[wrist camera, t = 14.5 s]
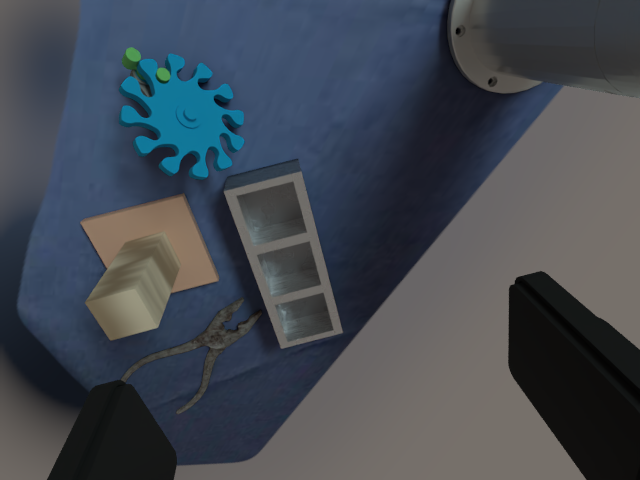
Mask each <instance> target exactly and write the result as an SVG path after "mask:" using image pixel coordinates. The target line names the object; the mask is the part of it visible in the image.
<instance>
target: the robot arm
mask: <svg viewBox="0 0 640 480" xmlns="http://www.w3.org/2000/svg"><path fill="white" fill-rule="evenodd" d="M457 28H458V30H459V31H458V33H457V34H456V33H455V32H456V29H457ZM447 38H448V43H449V48H450V52H451V55H452V57H453V60H454V62H455V64H456V66H457V67H458V69H459V70H460V72H461V73H462V75H463V76H464V77H465V78H466V79H468V80H469V81H470V82H471V83H472V84H474V85H476V86H478V87H479V88H481V89H484V90H488V91H491V92H497V93H502V94H503V93H516V92H520V91H524V90H528V89H530V88H532V87H534V86H536V85H539V84H540V83H542V82H547V83H553V84H559V85H565V86H570V87H577V88H582V89H588V90H593V91H599V92H605V93H611V94H616V95H623V96H629V97H636V98H640V0H451V2H450V5H449V12H448V19H447ZM489 79H490V82H489V83H488V80H489ZM508 354H509V356H508V358H509V360H508V363H509V369H510V372H511V374H512V376H513V378H514V379H515V381H516V382H517V384H518V385H519V386H520V388H521V389H522V390H523V392H524V393H525V395H526V396H527V397H528V399H529V400H530V402H531V403H532V404H533V406H534V407H535V409H536V410H537V411H538V413H539V414H540V416H541V417H542V418H543V420H544V421H545V422H546V424H547V425H548V427H549V428H550V429H551V431H552V432H553V433H554V435H555V436H556V438H557V439H558V441H559V442H560V443H561V445H562V446H563V448H564V449H565V450H566V452H567V453H568V455H569V456H570V457H571V459H572V460H573V461H574V463H575V464H576V466H577V467H578V468H579V470H580V471H581V473H582V474H583V475H584V477H585V478H586V480H640V350H639V349H638V348H637V347H636V346H635V345H633V344H632V343H631V342H630V341H628V340H627V339H626V338H625V337H624V336H623V335H622V334H620V333H619V332H618V331H617V330H615V328H613V327H612V326H611V325H610V324H609V323H607V322H606V321H604V320H603V319H601V318H598V317H597V316H595V315H594V314H593V313H592V312H591V311H590V310H588V309H587V308H586V307H585V306H584V305H583V304H581V303H580V302H579V301H578V300H577V299H576V298H574V297H573V296H572V295H571V294H570V293H568V292H567V291H566V290H565V289H564V288H563V287H562V286H560V285H559V284H558V283H557V282H556V281H554V280H553V279H552V278H551V277H550V276H549V275H548V274H546V273H545V272H542V271H540V272H536V273H532V274H528V275H524V276H520V277H517V278H516V280H515V284H514V285H511V286H510V288H509V353H508ZM176 465H177V457H176V452H175V450H174V448H173V447H172V445H171V444H170V442H169V440H168V439H167V437H166V436H165V434H164V433H163V431H162V430H161V428H160V427H159V425H158V424H157V422H156V421H155V419H154V418H153V416H152V414H151V413H150V411H149V410H148V408H147V407H146V405H145V404H144V402H143V401H142V399H141V398H140V396H139V395H138V393H137V392H136V390H135V388H134V387H133V386H132V385H131V384H126V383H125V382H124V381H122V380H117V381H113V382H109V383H105V384H101V385H97V386H95V387H94V388H92V390H91V391H90V393H89V395H88V397H87V399H86V402H85V403H84V406H83V408H82V410H81V412H80V414H79V416H78V418H77V420H76V422H75V424H74V426H73V428H72V430H71V432H70V434H69V436H68V438H67V440H66V442H65V444H64V447H63V448H62V450H61V453H60V454H59V456H58V458H57V460H56V462H55V465H54V467H53V469H52V471H51V473H50V475H49V477H48V479H47V480H174V475H175V470H176Z"/></svg>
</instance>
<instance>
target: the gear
mask: <svg viewBox="0 0 640 480" xmlns="http://www.w3.org/2000/svg"><path fill="white" fill-rule="evenodd" d="M140 59H141V55H140V53H139V51H138V50H136V49H134V48H128V49H127V50H126V52H125V54H124V56H123V58H122V64H123V65H124V67H125V68H127V69H130V70H132V71H131V73H130V77H128V78H126V79H125V80H124V82H123V83H122V84H121V86H120V88H119V92H120V93H121V94H122V95H123V96H125V97H128V98H131V99H133V100H135V101H136V102H138V103H139V104H140V105H141V106H142V107H143V108H144V109H145V110H146V112H147V113H148V115H149V118H143V117H141V116H140V115H139V114H138V113H137V112H136V110H135V109H134V108H132V107H130V106H126V105H125V106H123V108H122V109H121V111H120V114H119V124H120V125H122V126H124V127H131V126H140V127H144V128H147V129H149V130H151V131H153V132H154V133H156V135H157V137H158V140H151V139H149V138H147V137H145V136H138V137H137V138H135V140H134V141H133V146H134V149H135V151H136V152H137V154H138V155H139V156H141V157H144V156H146V155H148V154H149V153H150V152H151V151H152V150H154V149H156V148H159V147H170V148H172V149H173V150H174V151H175V154H176V156H175V157H167V158H165V159H163V160H162V161H161V162H160V164H159V168H160V169H161V170H162V171H163V172H164V173H166V174H167V175H169V176H173V175H174V174H175V173H177V172H178V170H179V165H180V161H181V159H182V158H183V157H184V156H185V155H186V154H193V155H194V156H195V157H196V159H197V163H196V164H195V165H194V166H193V167H191V168H190V170H189V176H190V177H191V178H193V179H198V180H204V179H205V178H207V176H208V169H207V166H206V162H205V156H206V152H207V149H210V150H212V151H213V152H214V153H215V160H214V163H213V165H214V168H215V170H216V171H222V170H225V169H227V168H228V167H230V166H232V161H231V159H230V158H229V157H228V156H227V155H226V154H225V153H224V151H223V149H222V147H221V144H220V140H219V136H222V137H224V138H225V140H226V142H227V146H228V149H229V150H230V151H231V152H232V153H235V152H236V151H238V150H239V149H241V148H242V146H243V144H244V142H245V141H244V139H243V138H242V137H240V136H238V135H235V134H233V133H232V132H230V131H229V130H228V129H227V127H226V126H225V125H224V124H223V122H222V119H221V118H225V119H226V120H227V121H228V122H229V124H230V125H231V126H232V127H234V128H239V127H240V126H241V125H242V124H243V121H244V114H243V112H242V111H240V110H234V111H230V110H226V109H224V108H222V107H220V106H218V105H217V104H216V103H215V102H214V98H216V99H218V100H220V101H221V102H224V103H226V102H228V101H230V100H231V99H232V98H233V93H232V90H231V88H230V87H229V85H228V84H223V85H221V86H220V87H219V88H218V89H216V90H203V89H201V88H200V87H199V86H198V82H202V83H205V82H207V81H208V80H209V79H210V77H211V76H212V72H211V70H210V69H209V68H208V67H207V66H206V65H204V64H203V63H200V64H198V66H197V67H196V68H195V70H194V74H193V78H192V79H190V80H188V81H186V82H183V81H181V80H180V79H179V78H178V77H177V73H179V72H180V71H181V69H182V68H183V67H184V65H185V61H184V59H183V58H182V57H180V56H177V55H174V54H171V53H170V54H169V55H168V57H167V58H166V60H165V66H166V68H167V69H165V68H159V69H158V66H157V63H156V61H155V60H154V59H144V60H141V61H140ZM157 69H158V70H157Z"/></svg>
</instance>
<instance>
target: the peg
mask: <svg viewBox="0 0 640 480" xmlns="http://www.w3.org/2000/svg"><path fill="white" fill-rule="evenodd" d="M180 266H181V263H180V261H179V259H178V257H177V255H176V253H175V251H174V249H173V247H172V245H171V243H170V241H169V239H168V237H167V235H166V233H165V231H163V232H160V233H156V234H152V235H149V236H145V237H142V238H138V239H134V240H131V241H127V242H125V244H124V245H123V247H122V248H121V250H120V251H119V253H118V254H117V256H116V257H115V259H114V260H113V262H112V263H111V265H110V266H109V267H108V269H107V270H106V272H105V273H104V275H103V276H102V278H101V279H100V281H99V282H98V284H97V285H96V287H95V288H94V290H93V291H92V293H91V294H90V296H89V297H88V299H87V300H86V302H85V304H86V305H87V307H88V308H89V310H90V311H91V313H92V314H93V315H94V317H95V318H96V320H97V321H98V323H99V324H100V326H101V327H102V329H103V330H104V332H105V333H106V335H107V336H108V338H109V339H110V341H111V340H115V339H119V338H122V337H126V336H130V335H133V334H137V333H140V332H144V331H148V330H151V329H155V328H158V326H159V323H160V321H161V318H162V315H163V312H164V310H165V307H166V304H167V302H168V299H169V296H170V293H171V291H172V288H173V285H174V283H175V280H176V277H177V274H178V272H179V269H180Z"/></svg>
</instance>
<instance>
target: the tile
mask: <svg viewBox="0 0 640 480" xmlns="http://www.w3.org/2000/svg"><path fill="white" fill-rule="evenodd" d="M80 223H81V225H82V226H83V228H84V230H85V231H86V233H87V235H88V237H89V238H90V240H91V242H92V244H93V245H94V247H95V249H96V250H97V252H98V254H99V256H100V257H101V259H102V261H103V263H104V264H105V266H106V268H107V269H108V267H109V266H110V265H111V263H112V262H113V260H114V259H115V257H116V256H117V254H118V253H119V251H120V250H121V248H122V247H123V245H124V244H125V242H127V241H131V240H134V239H138V238H142V237H145V236H149V235H152V234H156V233H160V232H163V231H165V233H166V235H167V237H168V239H169V241H170V243H171V245H172V247H173V249H174V251H175V253H176V255H177V257H178V259H179V261H180V263H181V266H180V269H179V272H178V274H177V277H176V280H175V283H174V285H173V288H172V291H171V293H173V292H177V291H181V290H185V289H189V288H193V287H197V286H201V285H204V284H208V283H212V282H216V281H218V280H219V275H218V273H217V270H216V268H215V266H214V263H213V261H212V259H211V256H210V254H209V251H208V249H207V247H206V244H205V242H204V239H203V237H202V235H201V232H200V230H199V228H198V225H197V223H196V220H195V218H194V216H193V213H192V211H191V208H190V206H189V204H188V201H187V199H186V197H185V194H184V193H183V194H179V195H175V196H171V197H167V198H163V199H159V200H156V201H152V202H148V203H144V204H140V205H136V206H132V207H128V208H124V209H121V210H117V211H113V212H109V213H105V214H101V215H97V216H93V217H89V218H86V219H83V220H82V221H81V222H80Z"/></svg>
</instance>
